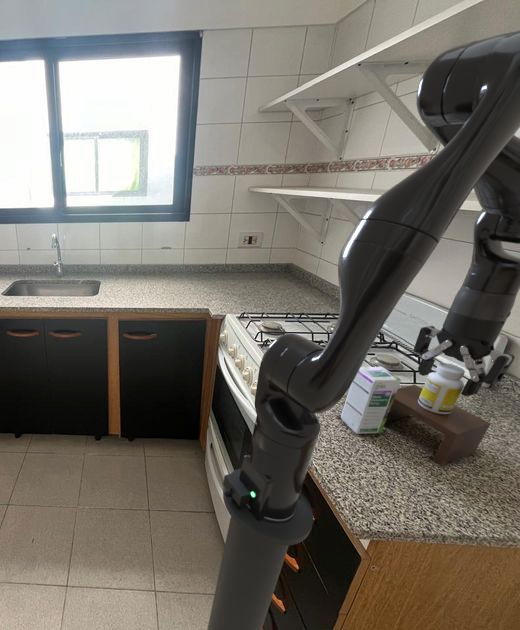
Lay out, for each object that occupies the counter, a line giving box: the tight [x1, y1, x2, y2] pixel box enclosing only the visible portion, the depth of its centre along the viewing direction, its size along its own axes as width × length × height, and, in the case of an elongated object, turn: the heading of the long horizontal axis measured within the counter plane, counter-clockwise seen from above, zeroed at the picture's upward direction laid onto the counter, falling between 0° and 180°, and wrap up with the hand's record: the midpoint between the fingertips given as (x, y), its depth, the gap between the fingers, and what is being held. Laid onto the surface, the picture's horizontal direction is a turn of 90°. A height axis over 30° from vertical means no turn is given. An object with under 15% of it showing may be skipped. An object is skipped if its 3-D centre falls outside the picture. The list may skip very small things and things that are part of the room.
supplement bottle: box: [418, 362, 466, 414], centre depth 72 cm, size 5×5×10 cm
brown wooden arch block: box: [385, 384, 492, 466], centre depth 75 cm, size 10×14×8 cm
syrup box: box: [340, 365, 402, 435], centre depth 77 cm, size 6×6×14 cm
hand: (444, 384), depth 71 cm, fingers open, 7 cm apart
